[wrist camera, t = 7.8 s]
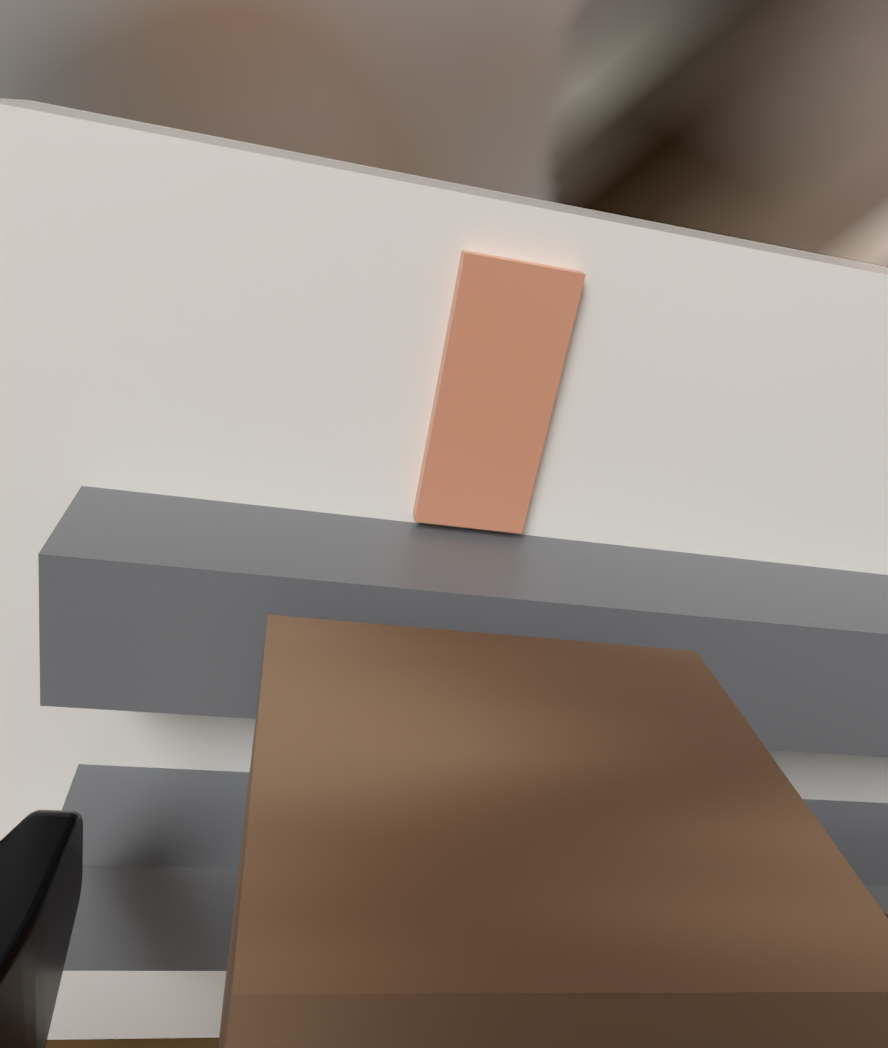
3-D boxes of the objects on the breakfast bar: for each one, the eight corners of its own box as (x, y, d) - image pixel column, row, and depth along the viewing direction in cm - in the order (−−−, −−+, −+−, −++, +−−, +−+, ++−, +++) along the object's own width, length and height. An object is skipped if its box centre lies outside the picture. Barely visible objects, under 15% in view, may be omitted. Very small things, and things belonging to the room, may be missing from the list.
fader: (635, 566, 10) (940, 991, 5) (535, 887, 12) (684, 1404, 7) (275, 528, 9) (230, 994, 4) (236, 880, 11) (174, 1460, 6)
